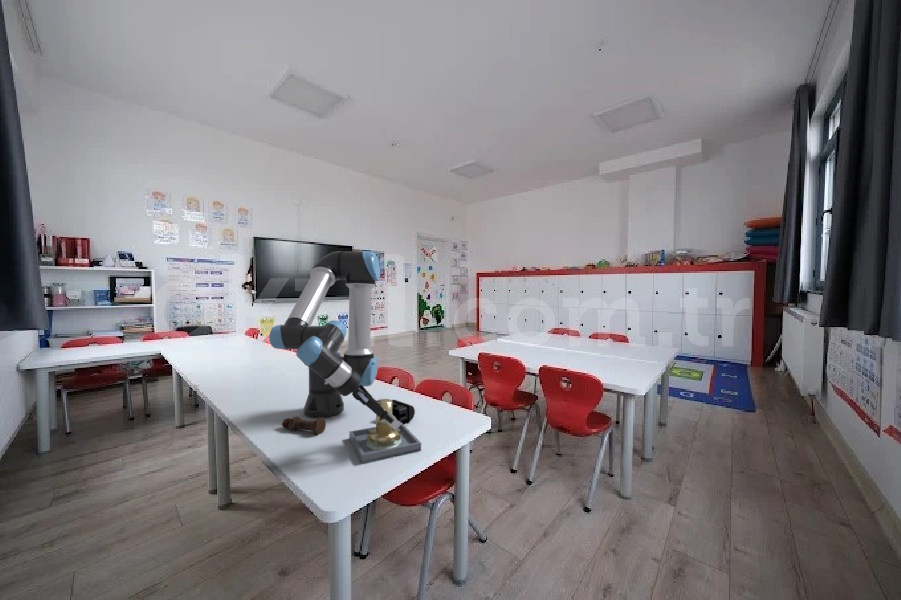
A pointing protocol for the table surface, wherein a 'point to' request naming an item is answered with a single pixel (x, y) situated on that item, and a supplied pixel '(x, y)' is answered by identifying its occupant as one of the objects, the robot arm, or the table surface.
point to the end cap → (402, 411)
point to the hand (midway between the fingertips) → (395, 423)
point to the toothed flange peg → (383, 427)
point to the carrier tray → (383, 445)
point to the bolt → (305, 425)
